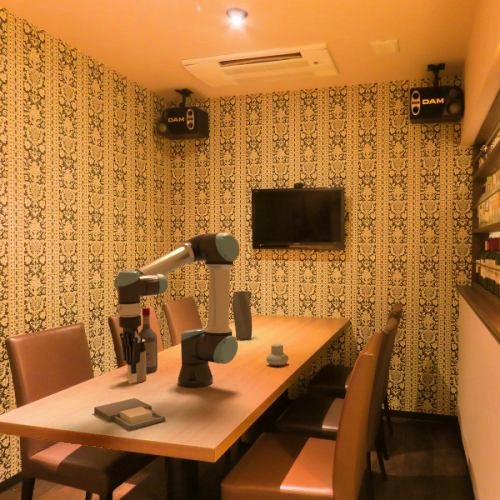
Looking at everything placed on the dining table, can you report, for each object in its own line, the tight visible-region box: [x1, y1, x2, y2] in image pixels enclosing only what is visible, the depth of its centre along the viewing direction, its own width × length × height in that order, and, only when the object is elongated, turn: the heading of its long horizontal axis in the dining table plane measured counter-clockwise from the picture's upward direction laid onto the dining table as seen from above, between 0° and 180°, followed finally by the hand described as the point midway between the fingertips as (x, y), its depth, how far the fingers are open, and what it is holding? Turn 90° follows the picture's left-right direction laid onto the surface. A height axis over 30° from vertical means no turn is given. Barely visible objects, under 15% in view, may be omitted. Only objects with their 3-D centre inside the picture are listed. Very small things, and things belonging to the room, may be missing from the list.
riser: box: [93, 397, 153, 423], centre depth 181 cm, size 16×13×2 cm
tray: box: [113, 409, 166, 432], centre depth 171 cm, size 13×12×2 cm
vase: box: [231, 290, 253, 341], centre depth 318 cm, size 12×12×30 cm
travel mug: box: [134, 339, 147, 383], centre depth 223 cm, size 8×8×18 cm
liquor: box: [138, 307, 159, 374], centre depth 241 cm, size 9×9×30 cm
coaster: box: [120, 407, 152, 425], centre depth 172 cm, size 8×8×2 cm
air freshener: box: [266, 343, 289, 367], centre depth 248 cm, size 11×8×10 cm
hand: (132, 382), depth 176 cm, fingers closed
